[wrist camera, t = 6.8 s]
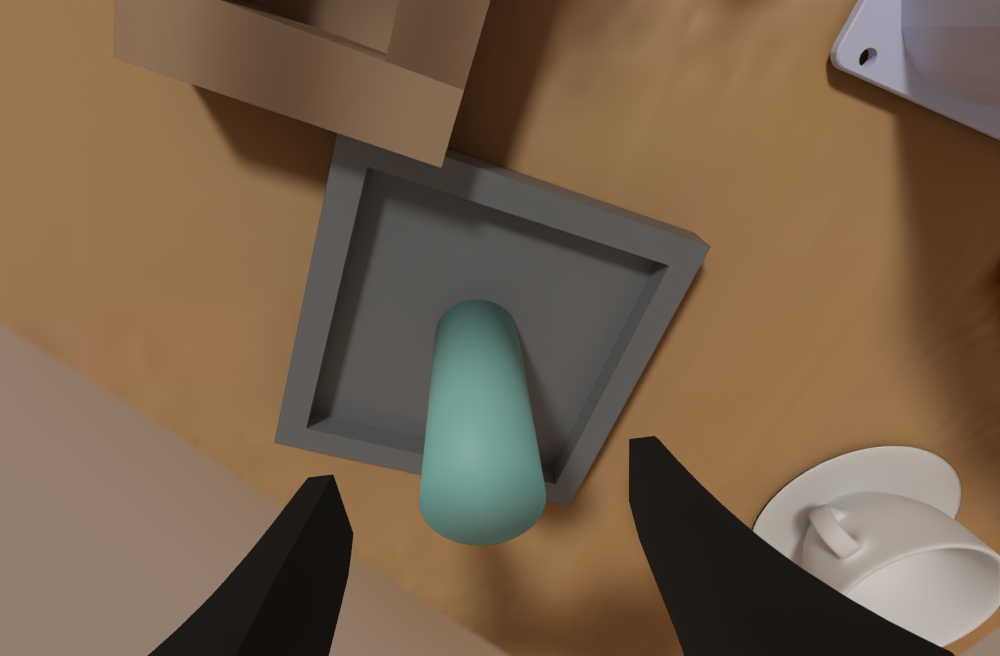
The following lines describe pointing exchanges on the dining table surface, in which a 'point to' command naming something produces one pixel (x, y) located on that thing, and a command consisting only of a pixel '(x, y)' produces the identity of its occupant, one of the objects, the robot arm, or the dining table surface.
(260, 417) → the dining table surface
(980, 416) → the dining table surface
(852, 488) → the teacup
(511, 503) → the dowel
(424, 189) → the tray
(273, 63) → the block
